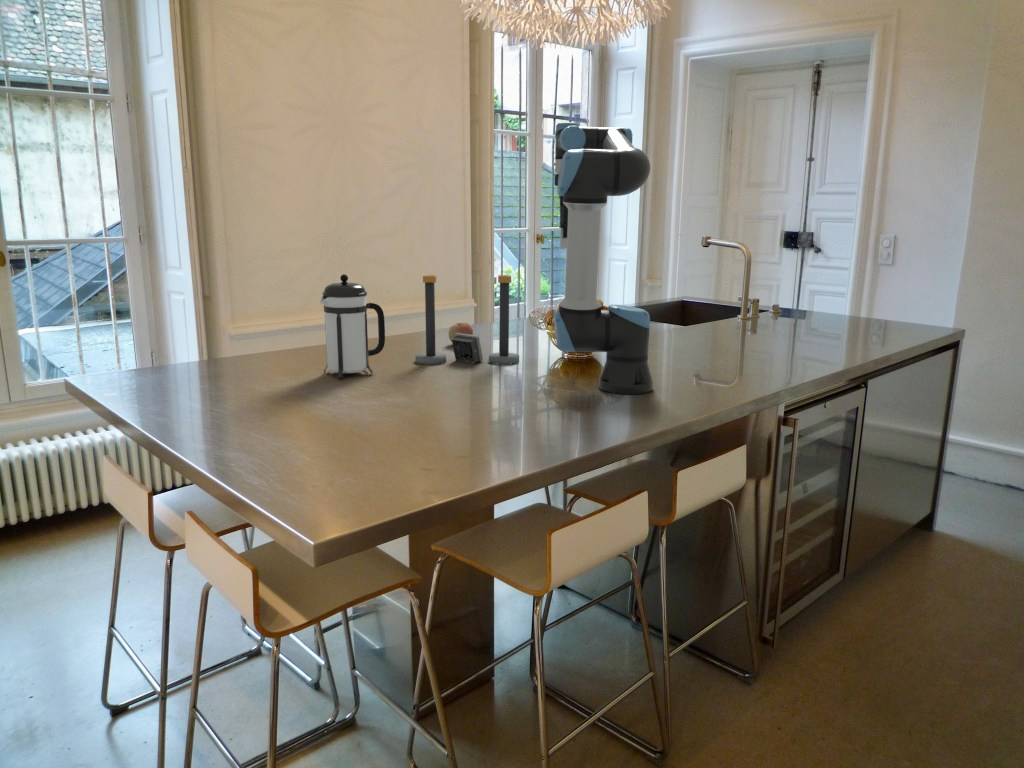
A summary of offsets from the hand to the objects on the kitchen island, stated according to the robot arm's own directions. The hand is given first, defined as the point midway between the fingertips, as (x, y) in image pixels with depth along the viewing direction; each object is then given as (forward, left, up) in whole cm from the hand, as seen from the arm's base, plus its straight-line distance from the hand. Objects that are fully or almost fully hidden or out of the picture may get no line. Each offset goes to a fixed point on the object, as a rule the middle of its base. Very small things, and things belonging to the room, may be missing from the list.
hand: (564, 248), depth 249 cm
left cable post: (-25, +37, -36) cm, 57 cm away
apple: (+5, +40, -37) cm, 54 cm away
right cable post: (-15, +15, -36) cm, 42 cm away
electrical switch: (-20, +26, -37) cm, 49 cm away
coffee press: (-50, +51, -37) cm, 80 cm away
